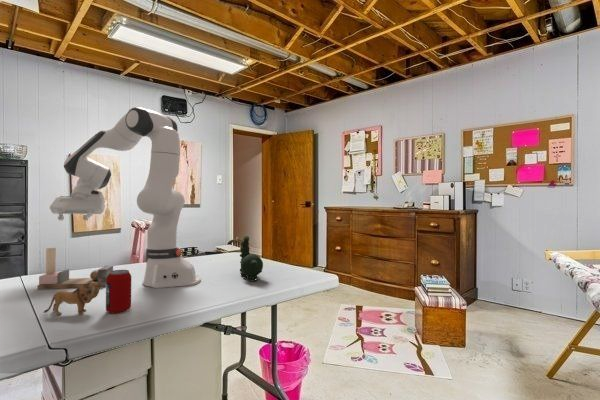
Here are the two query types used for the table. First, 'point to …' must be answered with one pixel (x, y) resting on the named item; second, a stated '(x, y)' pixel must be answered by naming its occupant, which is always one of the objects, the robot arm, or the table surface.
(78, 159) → the robot arm
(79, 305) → the lion figurine
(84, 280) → the press base
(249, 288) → the table surface
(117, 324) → the table surface
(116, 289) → the beverage can
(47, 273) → the press slider
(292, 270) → the table surface
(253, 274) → the toy figurine
